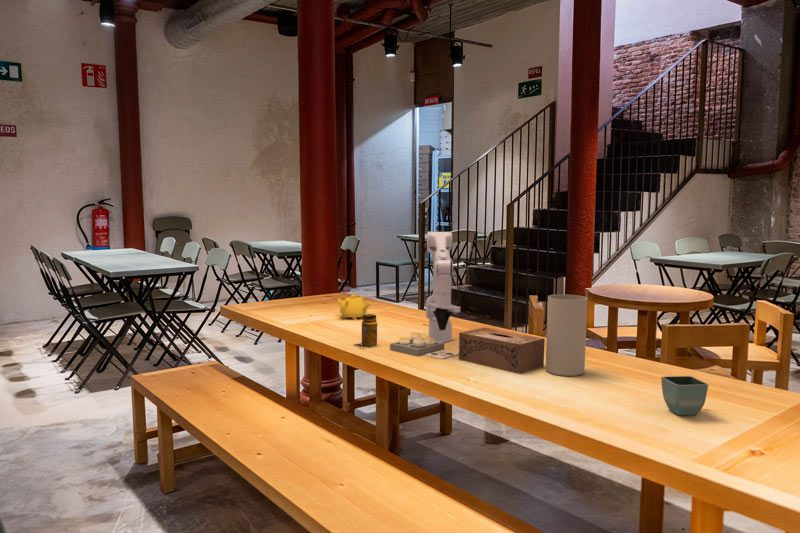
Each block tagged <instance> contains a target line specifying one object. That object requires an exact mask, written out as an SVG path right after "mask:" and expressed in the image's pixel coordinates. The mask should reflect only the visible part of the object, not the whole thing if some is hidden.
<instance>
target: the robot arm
mask: <svg viewBox="0 0 800 533" xmlns="http://www.w3.org/2000/svg"><path fill="white" fill-rule="evenodd" d="M452 246H453V233H452V231H427V233H426V250H427V252H428V253H429V254H431V256H432V260H433V261H432V263H433V264H432V269H433V270H432V276H433V277H432V294H431V295H429V296H428V297H427V298H426V301H425V302H426V303H425V317H426V318H427V319H428V338H434V339H435V342H440V343H447V342H450V341H454V338H452V337H453V333H452V332H453V323H452V321H451V319H450V318H451V316H452V313H453V312H454V313H461V306H457V305H454V304H452V303H451V302H452V276H453V273H454V272H453V271H454V263H453V259H452V258H451V255H450V254H451V253H450V252H451V249H452Z"/></svg>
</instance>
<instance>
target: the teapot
mask: <svg viewBox="0 0 800 533" xmlns="http://www.w3.org/2000/svg"><path fill="white" fill-rule="evenodd" d="M336 301H337V303H338V305H339V307H340V308H339V314H340V315H341V316H343V318H347V319H349V318H352V319H357V318H359V319H363V318H362V317H363V315H365V314H367V313H368V312H367V311H368V308H369V307H370V306H371V305H372V303H371V302H370V301H367V302H366V299H365V296H359V297H358V296H357V295H356V294H350V297H346V298H344V300H343V299H341V298H340V297H339V298H337V299H336ZM352 319H351V320H352Z"/></svg>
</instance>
